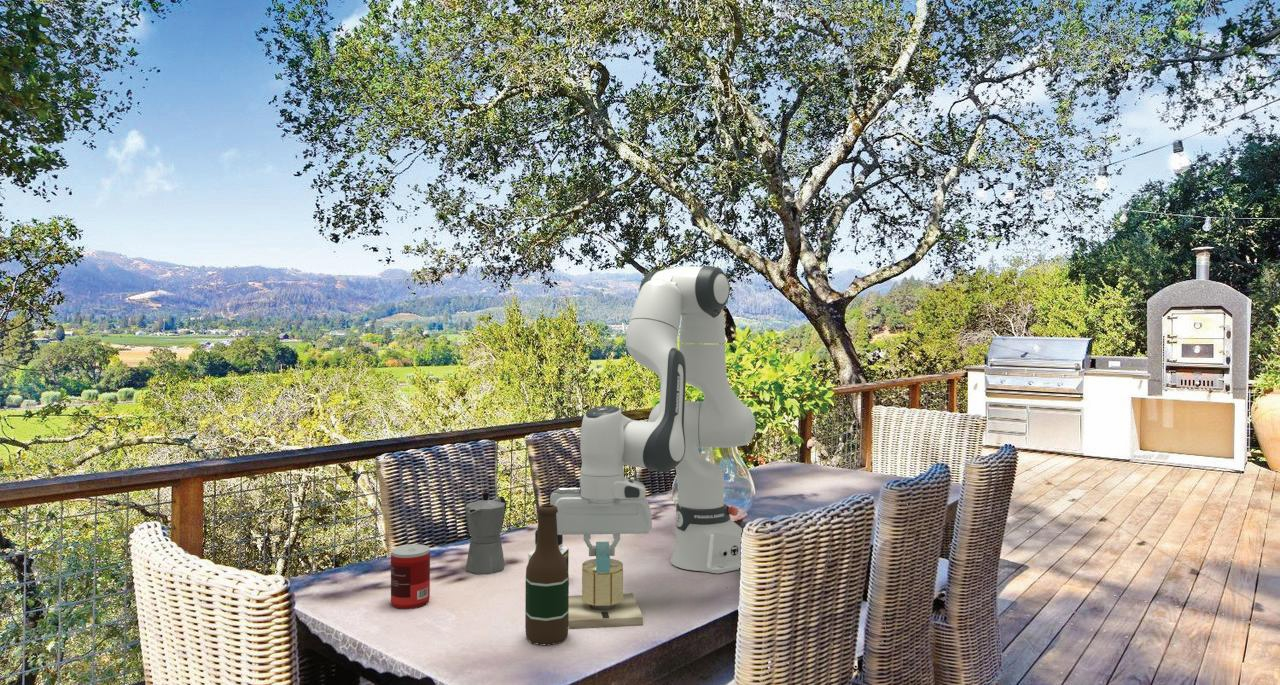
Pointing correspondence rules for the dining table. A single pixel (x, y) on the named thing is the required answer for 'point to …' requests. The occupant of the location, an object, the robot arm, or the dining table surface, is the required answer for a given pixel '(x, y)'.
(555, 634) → the beer bottle
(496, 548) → the coffeepot
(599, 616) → the square recessed plate
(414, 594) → the canned food
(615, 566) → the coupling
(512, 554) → the dining table surface
